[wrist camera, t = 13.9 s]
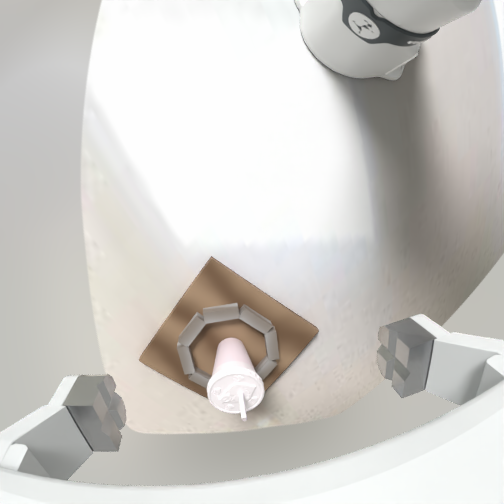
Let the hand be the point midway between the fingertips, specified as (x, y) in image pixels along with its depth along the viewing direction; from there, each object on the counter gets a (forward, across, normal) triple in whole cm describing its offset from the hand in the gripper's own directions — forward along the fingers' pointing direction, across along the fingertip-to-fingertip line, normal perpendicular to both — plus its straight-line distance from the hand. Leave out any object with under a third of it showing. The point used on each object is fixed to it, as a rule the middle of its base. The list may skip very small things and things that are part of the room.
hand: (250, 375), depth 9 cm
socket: (+31, +1, +17) cm, 35 cm away
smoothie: (+30, +1, +17) cm, 35 cm away
